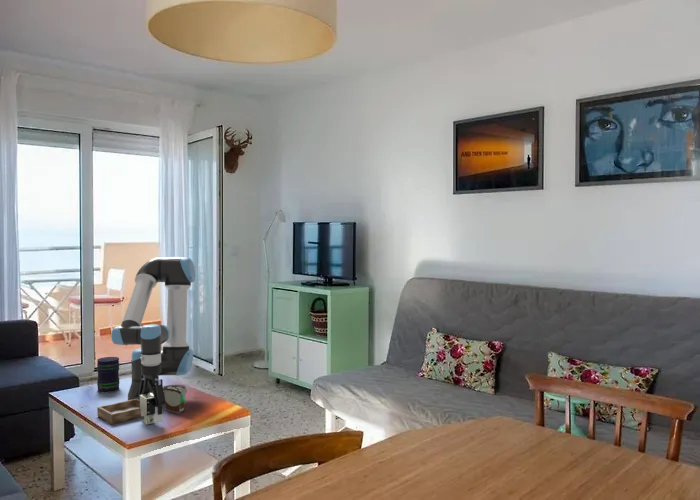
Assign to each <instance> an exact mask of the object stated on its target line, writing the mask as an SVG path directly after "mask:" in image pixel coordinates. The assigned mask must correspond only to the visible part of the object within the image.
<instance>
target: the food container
mask: <svg viewBox="0 0 700 500" xmlns="http://www.w3.org/2000/svg"><path fill="white" fill-rule="evenodd" d="M163 390H164V396H165V401H166V405H164V410H165V411H168V412H172V413H176V414H182V413H184V411H185V407H186V406H185V405H186V394H188V388H187V387H186V386H185V385H183V384H167V385H163Z"/></svg>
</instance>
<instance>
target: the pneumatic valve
mask: <svg viewBox="0 0 700 500" xmlns="http://www.w3.org/2000/svg"><path fill="white" fill-rule="evenodd" d="M155 405H156V403H155V399H154V396H153V394H152V393H146V394H140V395H139V410H140V411H142V412H143V413H145V414H144V417H143V424H145V425H146V426H148V425H151V424H152V425H153V424H156V423H155Z"/></svg>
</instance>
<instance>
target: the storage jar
mask: <svg viewBox="0 0 700 500" xmlns="http://www.w3.org/2000/svg"><path fill="white" fill-rule="evenodd" d="M96 361H97V366H96V370H97V371H96V372H97V383H96V384H97V385H96V386H97V392H98V393H101V392H104V393H105V392H108V393H113V392H117V391H119V390H120V376H119V374H120V373H119V372H120V371H119V370H120V358H119V356H107V357H105V356H104V357H100V358H97V359H96Z"/></svg>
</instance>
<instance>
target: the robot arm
mask: <svg viewBox="0 0 700 500" xmlns="http://www.w3.org/2000/svg"><path fill="white" fill-rule="evenodd" d="M194 265H195V264H194V262H193V260H192V259H191V258H190V257H188V256H187V257H185V256H165V257H164V256H163V257H162V256H158V257H157V256H156V257H153V258H151V259H149V260H148V261H145V263H144V264H143V265H142V266H140V268H139V270H138V271H137V272H136V275H135V278H134V283H135V284H134V287H133V289H132V293H131V297H130V299H129V302H128V304H127V307H126V310H125V313H124V316H123V318H122V322H121V324H120V325H118V326H114V327H113V328H112V330H111V336H110V337H111V341H112V343H113V344H115V345H119V346H126V345H134V346H135V345H139V346H140V347H139V348H136V349H134V350H133V351H132V352H131V360H130V362H131V384H130V387H129V390H128V394H127V401H128V400H133V399H139V395H140V394H146V393H152V394H153V396H154V399H155V403H156V405H155V414H154V415H155V417H154V418H155V423H154V424H158V423H162V422H163V413H164V412H163V408H164V407H163V406H165V405H166V401H165V396H164V390H163V387H164V385H163V384H164V383H163V381H164V380H163V379H162V378H161V379H160V378H159V377H160V376H177V377H178V376H186V375H188V374H189V372H190V371H191V368H192V365H193V361H194V350H193V349H191V348H190V344H189V343H188V342H187V322H188V321H187V317H188V315H187V314H188V313H187V312H188V310H187V309H188V290H189V289H190V288H191V286H192V283H194V282H196V281H195V280H196V270H195V266H194ZM158 283H164V287H165V288H166V289H167V313H166V316H167V317H166V325H163V324H157V323H156V324H155V323H151V324H144V325H142V322H143V319H144V316H145V313H146V309H147V307H148V304H149V301H150V297H151V294H152V292H153V289H154V288H156V286H157V284H158ZM162 344H163V345H162ZM144 414H145V413H143V412H142V411H141V416H144Z"/></svg>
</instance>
